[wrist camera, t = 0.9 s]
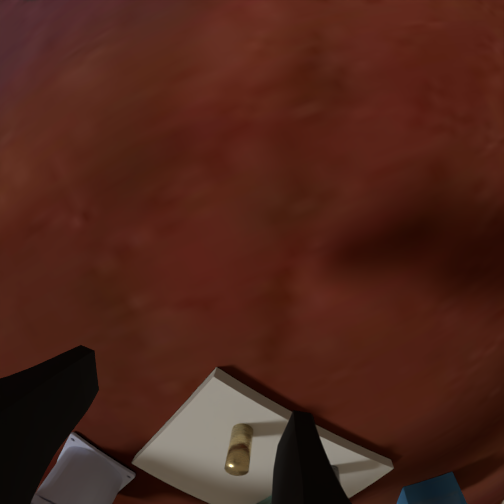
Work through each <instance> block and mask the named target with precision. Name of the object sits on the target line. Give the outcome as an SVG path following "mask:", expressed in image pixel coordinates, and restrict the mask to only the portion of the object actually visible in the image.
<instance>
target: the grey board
mask: <svg viewBox="0 0 504 504" xmlns="http://www.w3.org/2000/svg"><path fill="white" fill-rule="evenodd" d="M291 414H292V412H291V411H289V410H287V409H286V408H284V407H282V406H280V405H279V404H277V403H275V402H273V401H272V400H270V399H268V398H266V397H265V396H263V395H261V394H259V393H258V392H256V391H254V390H253V389H251V388H249V387H248V386H246V385H244V384H243V383H241V382H240V381H238V380H236V379H235V378H233V377H232V376H230V375H228V374H227V373H225V372H224V371H222V370H221V369H219V368H217V367H216V368H215V370H214V371H213V372H212V373H211V374H210V375H209V376H208V377H207V379H206V380H205V381H204V382H203V383H202V384H201V385H200V386H199V388H198V389H197V390H196V391H195V392H194V393H193V394H192V395H191V396H190V398H189V399H188V400H187V401H186V402H185V403H184V404H183V405H182V406H181V407H180V408H179V410H178V411H177V412H176V413H175V414H174V415H173V416H172V417H171V418H170V419H169V420H168V421H167V423H166V424H165V425H164V426H163V427H162V428H161V429H160V430H159V431H158V432H157V433H156V434H155V435H154V436H153V437H152V439H151V440H150V441H149V442H148V443H147V444H146V445H145V446H144V447H143V448H142V449H141V450H140V451H139V452H138V453H137V454H136V455H135V457H134V459H133V461H132V464H134V465H135V466H137V467H139V468H140V469H142V470H144V471H146V472H147V473H149V474H151V475H153V476H154V477H156V478H158V479H160V480H162V481H164V482H166V483H168V484H170V485H171V486H173V487H175V488H177V489H179V490H181V491H184V492H186V493H188V494H190V495H192V496H194V497H196V498H199V499H201V500H203V501H205V502H208V503H210V504H256V503H258V502H260V501H262V500H264V499H266V498H267V497H269V496H271V495H272V483H273V468H274V462H275V457H276V451H277V445H278V443H279V441H280V439H281V436H282V434H283V432H284V430H285V428H286V426H287V423H288V421H289V419H290V417H291ZM239 423H244V424H248V425H250V426H251V427H252V428H253V440H252V448H251V457H250V465H249V472H248V473H247V474H246V475H243V476H234V475H231V474H229V473H227V472H226V471H225V469H224V467H225V462H226V457H227V452H228V447H229V442H230V437H231V432H232V428H233V426H234V425H236V424H239ZM315 425H316V424H315ZM316 428H317V431H318V434H319V436H320V439H321V442H322V444H323V447H324V450H325V452H326V454H327V457H328V459H329V461H330V464H331V465H334V466H337V467H338V469H339V475H340V482H341V486H342V488H343V490H344V492H345V493H346V495H347V497H348V498H350V497H352V496H353V495H355V494H357V493H358V492H360V491H361V490H363V489H364V488H366V487H368V486H369V485H371V484H372V483H374V482H375V481H377V480H378V479H379V478H381V477H382V476H384V475H385V474H387V473H388V472H389V471H391V470H392V469H394V467H393V464H392V461H391V459H388V458H386V457H384V456H381V455H379V454H377V453H374V452H372V451H370V450H368V449H365V448H363V447H361V446H359V445H357V444H354V443H352V442H350V441H348V440H346V439H344V438H342V437H340V436H338V435H335V434H333V433H331V432H329V431H327V430H325V429H323V428H321V427H319V426H318V425H316Z"/></svg>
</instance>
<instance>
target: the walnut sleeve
mask: <svg viewBox="0 0 504 504" xmlns="http://www.w3.org/2000/svg"><path fill="white" fill-rule="evenodd" d="M271 501H272V495H271V496H269V497H267V498H266V499H264V500H262V501H260V502H258V503H256V504H271Z"/></svg>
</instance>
